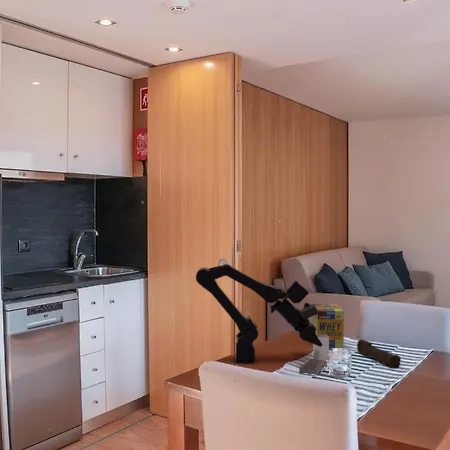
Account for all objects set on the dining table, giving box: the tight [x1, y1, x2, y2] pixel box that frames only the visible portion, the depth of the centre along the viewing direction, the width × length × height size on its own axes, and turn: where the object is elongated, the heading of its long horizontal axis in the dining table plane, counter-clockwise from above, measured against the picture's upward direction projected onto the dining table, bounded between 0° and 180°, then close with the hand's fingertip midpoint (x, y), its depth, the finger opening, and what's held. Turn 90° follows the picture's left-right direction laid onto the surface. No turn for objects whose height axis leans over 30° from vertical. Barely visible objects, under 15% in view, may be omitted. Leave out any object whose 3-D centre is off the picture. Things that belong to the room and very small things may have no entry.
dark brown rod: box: [356, 339, 402, 369], centre depth 193 cm, size 23×5×6 cm, turn 18°
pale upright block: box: [312, 334, 330, 361], centre depth 192 cm, size 4×5×9 cm
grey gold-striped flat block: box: [298, 357, 328, 376], centre depth 180 cm, size 12×6×2 cm, turn 153°
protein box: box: [311, 303, 345, 349], centre depth 213 cm, size 10×15×16 cm
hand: (319, 342), depth 192 cm, fingers open, 9 cm apart
